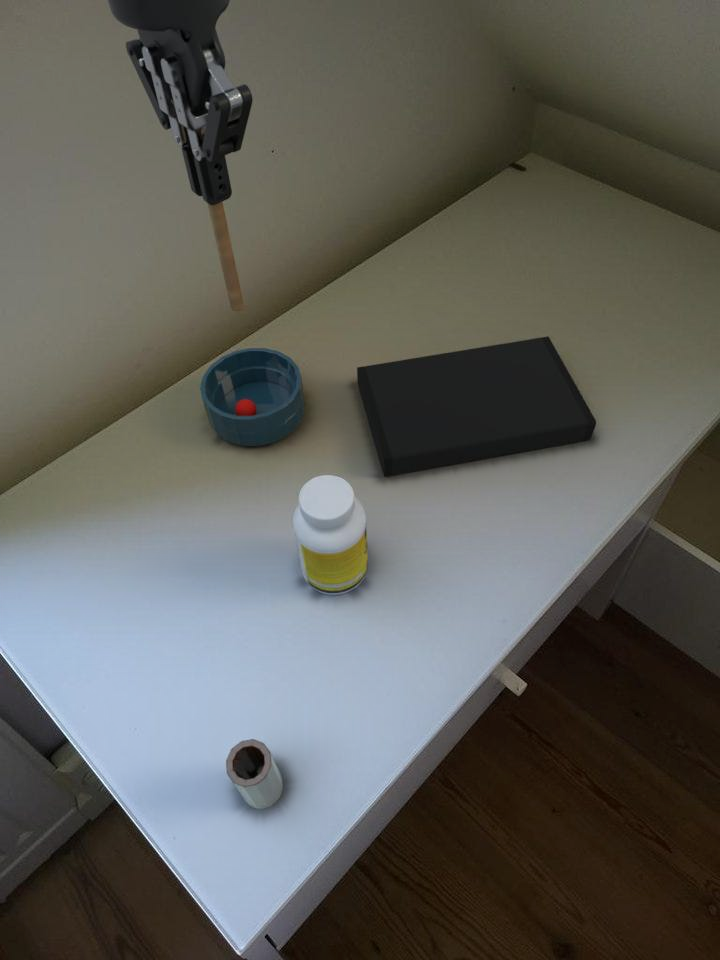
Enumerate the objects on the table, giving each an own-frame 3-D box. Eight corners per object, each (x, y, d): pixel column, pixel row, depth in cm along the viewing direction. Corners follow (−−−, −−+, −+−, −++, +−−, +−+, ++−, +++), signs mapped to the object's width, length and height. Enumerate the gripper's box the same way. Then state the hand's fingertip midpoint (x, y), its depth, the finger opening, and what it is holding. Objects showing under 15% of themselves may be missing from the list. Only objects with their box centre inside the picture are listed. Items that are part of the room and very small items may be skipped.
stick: (240, 313, 62) (202, 135, 49) (228, 310, 62) (187, 133, 50) (246, 304, 63) (210, 127, 50) (234, 302, 63) (196, 125, 50)
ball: (252, 427, 77) (248, 412, 75) (233, 422, 78) (229, 407, 76) (261, 412, 79) (258, 397, 77) (242, 407, 79) (239, 392, 77)
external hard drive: (357, 385, 82) (356, 366, 79) (543, 354, 84) (548, 335, 81) (384, 477, 73) (384, 459, 71) (590, 440, 75) (597, 422, 73)
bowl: (281, 460, 75) (275, 429, 71) (192, 435, 77) (182, 404, 74) (319, 391, 81) (316, 360, 77) (236, 370, 84) (229, 339, 80)
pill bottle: (373, 591, 65) (371, 522, 56) (305, 602, 64) (292, 535, 55) (362, 534, 69) (358, 461, 60) (298, 544, 68) (284, 472, 59)
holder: (272, 815, 53) (259, 793, 48) (235, 800, 54) (218, 776, 49) (289, 774, 55) (278, 748, 50) (253, 760, 56) (238, 733, 50)
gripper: (44, -92, 42) (129, 179, 56) (152, -39, 35) (218, 253, 49) (152, -117, 45) (208, 147, 59) (271, -72, 38) (302, 213, 52)
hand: (212, 195), depth 54 cm, fingers closed on stick, 1 cm apart
